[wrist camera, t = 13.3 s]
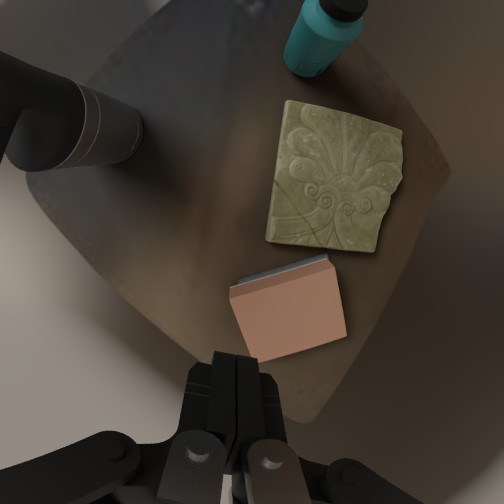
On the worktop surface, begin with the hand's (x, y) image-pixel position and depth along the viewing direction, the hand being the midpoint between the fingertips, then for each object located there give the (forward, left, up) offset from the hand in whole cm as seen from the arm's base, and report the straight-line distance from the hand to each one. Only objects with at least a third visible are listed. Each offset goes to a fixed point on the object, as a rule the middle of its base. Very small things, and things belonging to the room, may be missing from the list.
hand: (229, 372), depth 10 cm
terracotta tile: (+4, -16, -30) cm, 35 cm away
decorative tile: (+13, +8, -34) cm, 37 cm away
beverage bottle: (+4, +24, -33) cm, 41 cm away
